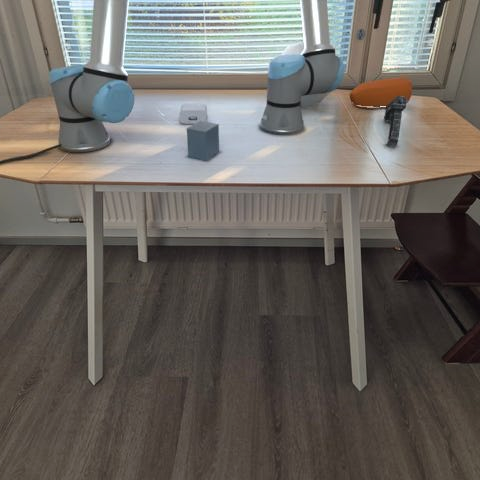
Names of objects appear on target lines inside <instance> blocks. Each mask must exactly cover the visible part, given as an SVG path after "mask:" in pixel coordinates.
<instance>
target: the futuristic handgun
mask: <svg viewBox="0 0 480 480" xmlns="http://www.w3.org/2000/svg"><path fill="white" fill-rule="evenodd" d="M407 105H408V103H407V99H406V98H405V97H403V96H397V97H396V98H394V99H393V100H392V101H391V102H390V103H389V104H388V105H387V106H386V108H385V110H384V115H383V121H385V122H389V124H390V125H389V132H388V137H387V141H386V142H387V143H386V146H395V147H396V146H398V142H399V137H400V129H401V124H402V116H403V112H404V110H406V109H407ZM384 119H385V120H384ZM386 120H388V121H386Z"/></svg>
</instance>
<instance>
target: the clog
mask: <svg viewBox="0 0 480 480" xmlns="http://www.w3.org/2000/svg"><path fill="white" fill-rule="evenodd" d="M412 93H413V85H412V81H411V80H410V78H407V77H391V78H383V79H382V78H381V79H377V80H370V81H366V82H365V81H364V82H361V83H360V84H358V85H357V86H356V87H355V88H353V89H352V90H351V91H350V92H349V100H350V103H352V102H353V103H352V104H353V105H354V104H355V105H354V106H356V105H361V106H373V107H380V106H387V105H388V104H389V103H390V102H391V101H392V100H393V99H394V98H396V97H397V96H403V97H405V98H406V99H407V104H408V103H409V102H410V100H411V97H412ZM357 108H361V109H363V110H364V109H365V110H373V109H374V110H375V109H377V108H367V107H359V106H357ZM383 109H386V107H384V108H383Z"/></svg>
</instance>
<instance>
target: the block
mask: <svg viewBox="0 0 480 480" xmlns="http://www.w3.org/2000/svg"><path fill="white" fill-rule="evenodd" d="M219 126H220V125H219V123H216V122H209V121H206V122H205V121H199V122H197V123H195V124H191V125H190V126H188V127H187V128H186V139H187V140H186V141H187V156H188V158H191V159H196V160H200V161H206V162H207V161H209V160H210V159H212V158H213V157H214V156H216V155H217V154H219V152H220V136H219V135H220V130H219V129H220V127H219Z"/></svg>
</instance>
